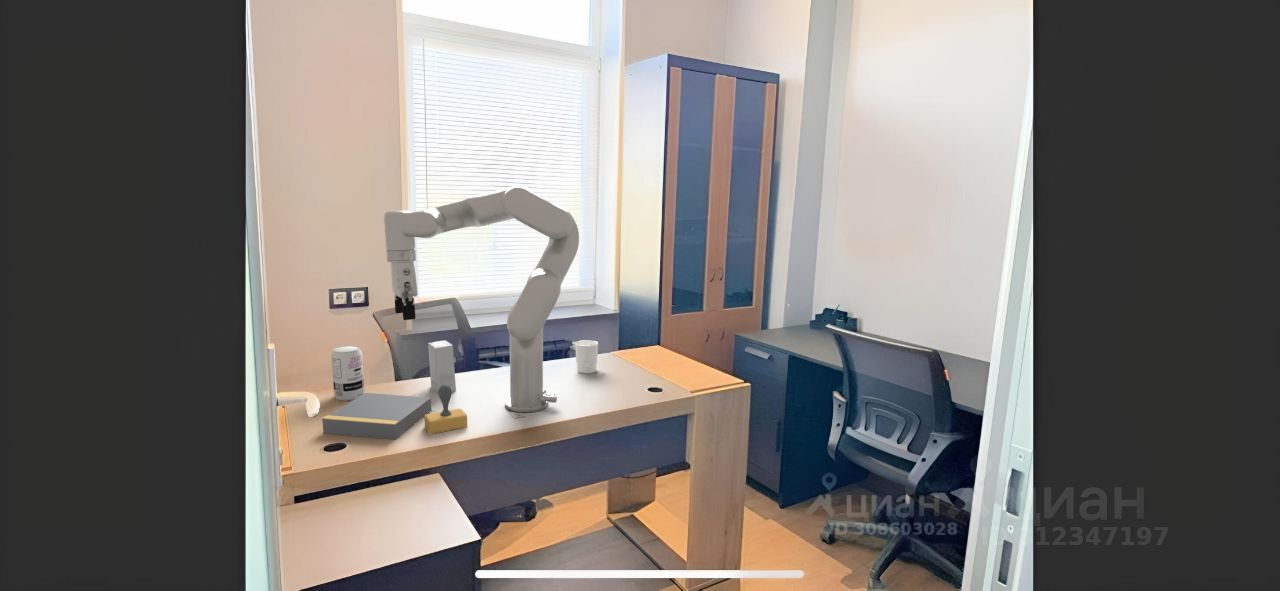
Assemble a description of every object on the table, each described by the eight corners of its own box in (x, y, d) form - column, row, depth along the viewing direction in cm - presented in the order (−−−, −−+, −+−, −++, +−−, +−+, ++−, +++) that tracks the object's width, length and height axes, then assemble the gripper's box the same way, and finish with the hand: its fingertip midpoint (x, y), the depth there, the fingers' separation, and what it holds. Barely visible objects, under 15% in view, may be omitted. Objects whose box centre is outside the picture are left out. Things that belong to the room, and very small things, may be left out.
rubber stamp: (461, 420, 175) (459, 379, 173) (467, 427, 171) (466, 385, 168) (424, 427, 170) (422, 384, 168) (430, 435, 165) (428, 391, 163)
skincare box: (456, 391, 198) (454, 345, 195) (436, 394, 194) (434, 348, 192) (448, 383, 205) (446, 339, 202) (429, 386, 201) (427, 341, 198)
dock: (431, 411, 181) (431, 397, 180) (395, 439, 162) (394, 424, 161) (366, 405, 184) (365, 392, 183) (323, 433, 164) (322, 418, 164)
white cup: (596, 374, 218) (597, 346, 216) (574, 373, 218) (574, 345, 216) (598, 367, 225) (599, 340, 223) (576, 366, 225) (576, 339, 223)
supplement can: (340, 392, 195) (337, 344, 192) (368, 391, 195) (365, 345, 192) (330, 401, 187) (326, 352, 184) (359, 401, 187) (355, 352, 184)
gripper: (423, 258, 170) (426, 320, 173) (408, 251, 184) (411, 308, 187) (393, 260, 166) (398, 323, 169) (380, 253, 180) (385, 311, 184)
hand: (405, 316), depth 178 cm, fingers open, 9 cm apart
